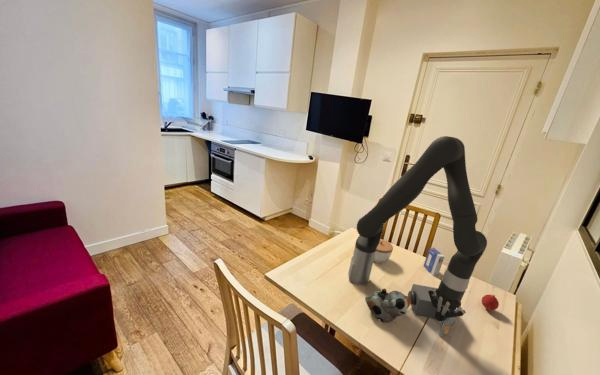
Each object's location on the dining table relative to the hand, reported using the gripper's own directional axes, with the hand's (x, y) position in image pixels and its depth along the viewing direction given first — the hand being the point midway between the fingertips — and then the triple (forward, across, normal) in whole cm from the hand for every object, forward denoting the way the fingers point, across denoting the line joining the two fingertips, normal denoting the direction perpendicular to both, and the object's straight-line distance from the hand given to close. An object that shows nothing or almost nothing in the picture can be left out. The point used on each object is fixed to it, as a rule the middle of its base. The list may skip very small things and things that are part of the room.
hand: (438, 319), depth 93 cm
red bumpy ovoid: (+5, +6, +32) cm, 33 cm away
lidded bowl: (+6, -41, +17) cm, 45 cm away
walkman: (+5, -21, +35) cm, 41 cm away
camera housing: (+5, -6, +7) cm, 11 cm away
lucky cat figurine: (+5, -15, -11) cm, 19 cm away
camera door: (+4, +3, +4) cm, 6 cm away
